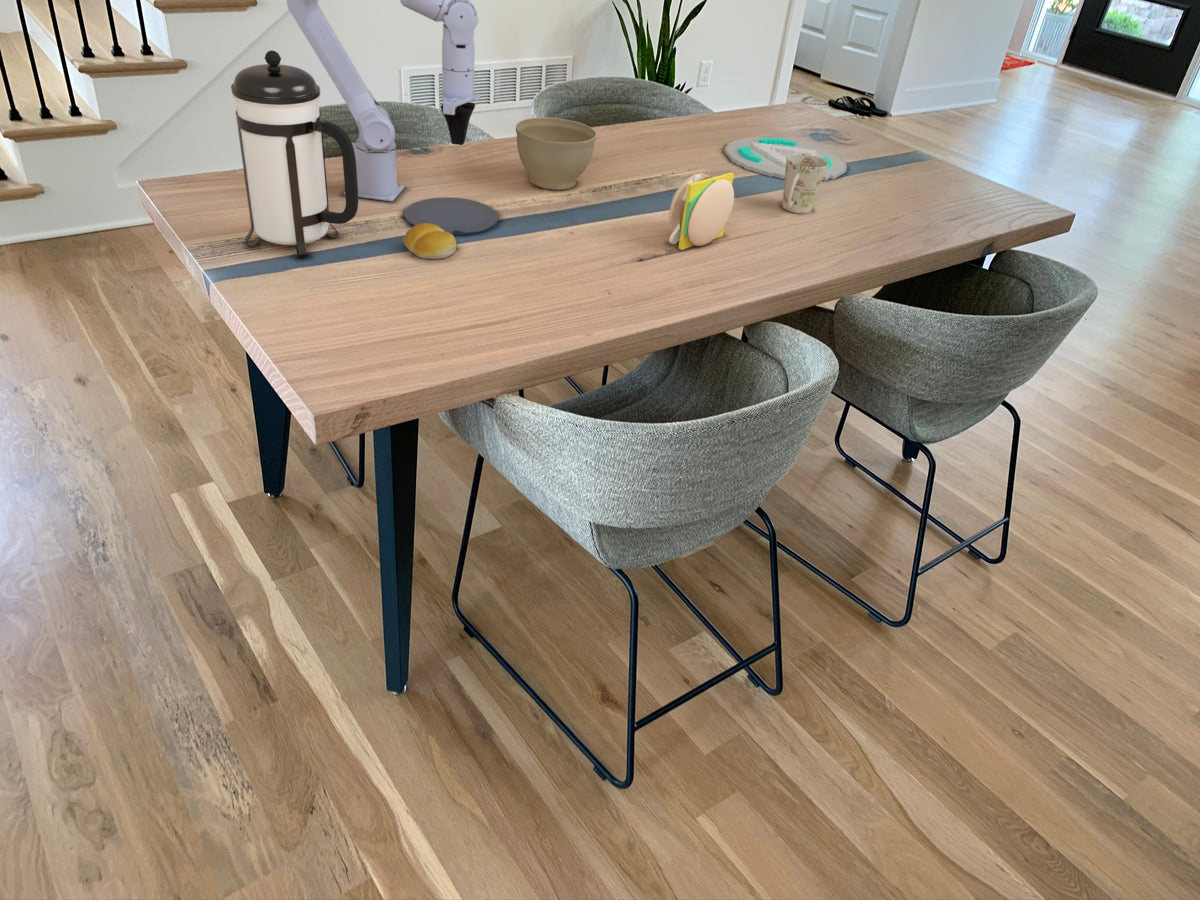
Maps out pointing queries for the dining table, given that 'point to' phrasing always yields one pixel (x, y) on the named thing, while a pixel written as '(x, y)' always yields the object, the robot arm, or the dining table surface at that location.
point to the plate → (453, 215)
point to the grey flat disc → (778, 155)
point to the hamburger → (701, 209)
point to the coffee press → (288, 155)
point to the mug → (802, 181)
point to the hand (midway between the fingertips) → (458, 143)
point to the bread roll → (429, 241)
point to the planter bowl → (554, 150)
